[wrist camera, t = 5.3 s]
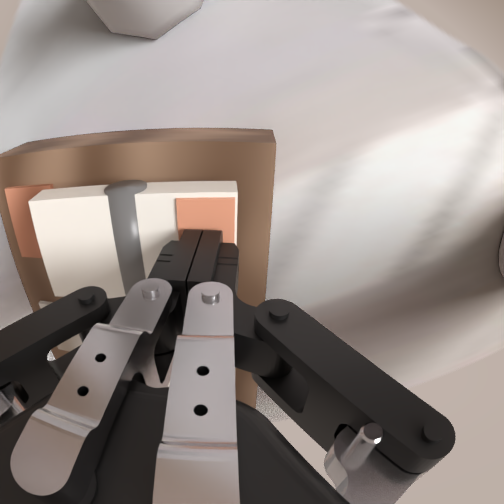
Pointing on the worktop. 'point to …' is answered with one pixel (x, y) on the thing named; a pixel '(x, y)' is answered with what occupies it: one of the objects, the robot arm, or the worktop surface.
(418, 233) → the worktop surface
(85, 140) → the switch unit
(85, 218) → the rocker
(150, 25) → the flask
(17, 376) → the robot arm
